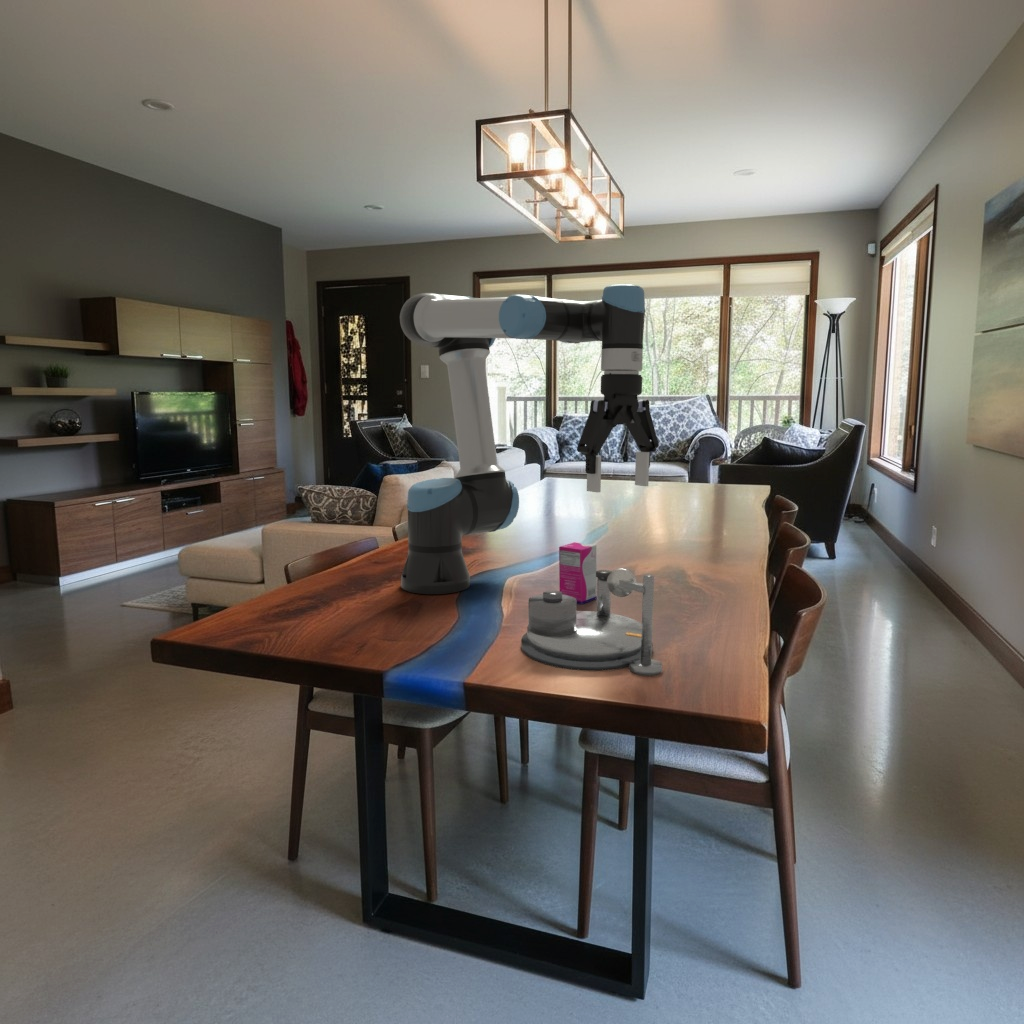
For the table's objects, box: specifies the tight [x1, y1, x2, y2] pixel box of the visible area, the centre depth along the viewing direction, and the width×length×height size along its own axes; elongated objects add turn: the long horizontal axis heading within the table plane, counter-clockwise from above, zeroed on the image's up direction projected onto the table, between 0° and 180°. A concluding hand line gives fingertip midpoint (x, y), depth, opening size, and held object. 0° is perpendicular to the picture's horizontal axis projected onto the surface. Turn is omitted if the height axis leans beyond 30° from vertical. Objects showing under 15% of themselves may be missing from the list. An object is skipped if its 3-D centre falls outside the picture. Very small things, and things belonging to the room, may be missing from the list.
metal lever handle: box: [607, 567, 663, 677], centre depth 117 cm, size 10×5×15 cm, turn 64°
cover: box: [527, 590, 578, 637], centre depth 126 cm, size 8×8×6 cm
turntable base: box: [520, 632, 654, 672], centre depth 127 cm, size 22×22×1 cm
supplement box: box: [558, 542, 597, 605], centre depth 156 cm, size 6×6×12 cm
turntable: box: [526, 569, 642, 660], centre depth 126 cm, size 20×20×10 cm
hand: (618, 488), depth 141 cm, fingers open, 13 cm apart
